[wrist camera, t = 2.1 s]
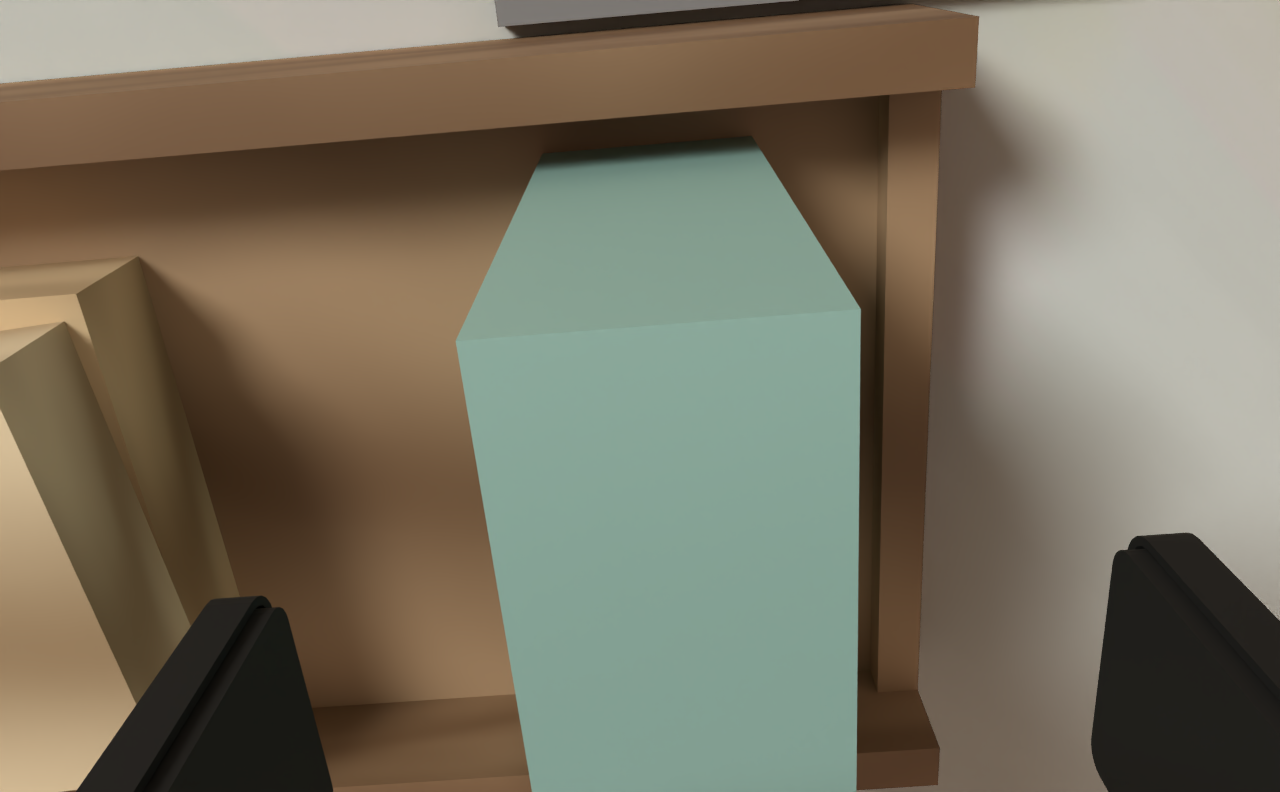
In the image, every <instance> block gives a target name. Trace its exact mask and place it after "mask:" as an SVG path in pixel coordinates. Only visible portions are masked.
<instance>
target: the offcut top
mask: <svg viewBox="0 0 1280 792" xmlns="http://www.w3.org/2000/svg"><path fill="white" fill-rule="evenodd" d="M190 627H191V626H190V623H189V621H188V619H187V616H186V614H185V611H184V609H183V607H182V604H181V602H180V599H179V597H178V595H177V592H176V590H175V587H174V585H173V582H172V580H171V578H170V575H169V573H168V570H167V568H166V566H165V563H164V561H163V558H162V556H161V554H160V551H159V549H158V546H157V544H156V541H155V539H154V537H153V534H152V532H151V529H150V527H149V525H148V522H147V520H146V517H145V515H144V513H143V510H142V508H141V505H140V503H139V500H138V498H137V496H136V493H135V491H134V488H133V486H132V484H131V481H130V479H129V476H128V474H127V472H126V469H125V467H124V464H123V462H122V459H121V457H120V455H119V452H118V450H117V447H116V445H115V443H114V440H113V438H112V435H111V433H110V430H109V428H108V426H107V423H106V421H105V418H104V416H103V414H102V411H101V409H100V406H99V404H98V402H97V399H96V397H95V394H94V392H93V389H92V387H91V385H90V382H89V380H88V377H87V375H86V373H85V370H84V368H83V365H82V363H81V361H80V358H79V356H78V353H77V351H76V348H75V346H74V344H73V341H72V339H71V336H70V334H69V332H68V329H67V327H66V324H65V322H64V321H62V322H55V323H49V324H42V325H35V326H29V327H22V328H16V329H9V330H2V331H0V792H63V791H71V790H77V789H78V788H79V786H80V785H81V783H82V782H83V781H84V779H85V778H86V776H87V775H88V773H89V772H90V771H91V769H92V768H93V766H94V765H95V763H96V762H97V760H98V759H99V758H100V756H101V755H102V753H103V752H104V750H105V749H106V748H107V746H108V745H109V743H110V742H111V740H112V739H113V737H114V736H115V735H116V733H117V732H118V730H119V729H120V727H121V726H122V725H123V723H124V722H125V720H126V719H127V717H128V716H129V714H130V713H131V712H132V710H133V709H134V707H135V706H136V704H137V703H138V702H139V700H140V699H141V697H142V696H143V694H144V693H145V692H146V690H147V689H148V687H149V686H150V684H151V683H152V681H153V680H154V679H155V677H156V676H157V674H158V673H159V671H160V670H161V669H162V667H163V666H164V664H165V663H166V661H167V660H168V658H169V657H170V656H171V654H172V653H173V651H174V650H175V648H176V647H177V646H178V644H179V643H180V641H181V640H182V638H183V637H184V635H185V634H186V633H187V631H188V630H189V628H190Z"/></svg>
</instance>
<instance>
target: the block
mask: <svg viewBox="0 0 1280 792" xmlns="http://www.w3.org/2000/svg"><path fill="white" fill-rule="evenodd" d="M860 336H861V309H860V307H859V305H858V304H857V302H856V301H855V299H854V298H853V296H852V294H851V293H850V291H849V290H848V288H847V286H846V285H845V283H844V282H843V280H842V278H841V277H840V275H839V274H838V272H837V270H836V269H835V267H834V266H833V264H832V263H831V261H830V259H829V258H828V256H827V255H826V253H825V251H824V250H823V248H822V247H821V245H820V243H819V242H818V240H817V239H816V237H815V236H814V234H813V232H812V231H811V229H810V228H809V226H808V224H807V223H806V221H805V220H804V218H803V216H802V215H801V213H800V212H799V210H798V208H797V207H796V205H795V204H794V202H793V201H792V199H791V197H790V196H789V194H788V193H787V191H786V189H785V188H784V186H783V185H782V183H781V181H780V180H779V178H778V177H777V175H776V174H775V172H774V170H773V169H772V167H771V166H770V164H769V162H768V161H767V159H766V158H765V156H764V154H763V153H762V151H761V150H760V148H759V146H758V145H757V143H756V142H755V140H754V139H753V137H752V136H745V137H733V138H721V139H709V140H697V141H685V142H673V143H662V144H650V145H638V146H626V147H614V148H602V149H591V150H579V151H567V152H555V153H543V154H542V156H541V158H540V160H539V162H538V164H537V167H536V169H535V171H534V173H533V175H532V177H531V179H530V182H529V184H528V186H527V188H526V190H525V192H524V195H523V197H522V199H521V201H520V203H519V205H518V207H517V210H516V212H515V214H514V216H513V218H512V220H511V223H510V225H509V227H508V229H507V231H506V233H505V236H504V238H503V240H502V242H501V244H500V246H499V248H498V251H497V253H496V255H495V257H494V259H493V261H492V264H491V266H490V268H489V270H488V272H487V274H486V276H485V279H484V281H483V283H482V285H481V287H480V289H479V292H478V294H477V296H476V298H475V300H474V302H473V305H472V307H471V309H470V311H469V313H468V315H467V317H466V320H465V322H464V324H463V326H462V328H461V330H460V333H459V335H458V337H457V339H456V346H457V352H458V358H459V364H460V370H461V376H462V382H463V388H464V394H465V400H466V405H467V411H468V417H469V423H470V429H471V435H472V441H473V447H474V453H475V459H476V464H477V470H478V476H479V482H480V488H481V494H482V500H483V506H484V512H485V517H486V523H487V529H488V535H489V541H490V547H491V553H492V559H493V565H494V571H495V576H496V582H497V588H498V594H499V600H500V606H501V612H502V618H503V624H504V630H505V635H506V641H507V647H508V653H509V659H510V665H511V671H512V677H513V683H514V689H515V694H516V700H517V706H518V712H519V718H520V724H521V730H522V736H523V742H524V747H525V753H526V759H527V765H528V771H529V777H530V783H531V789H532V792H856V777H857V667H858V556H859V446H860Z"/></svg>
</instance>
